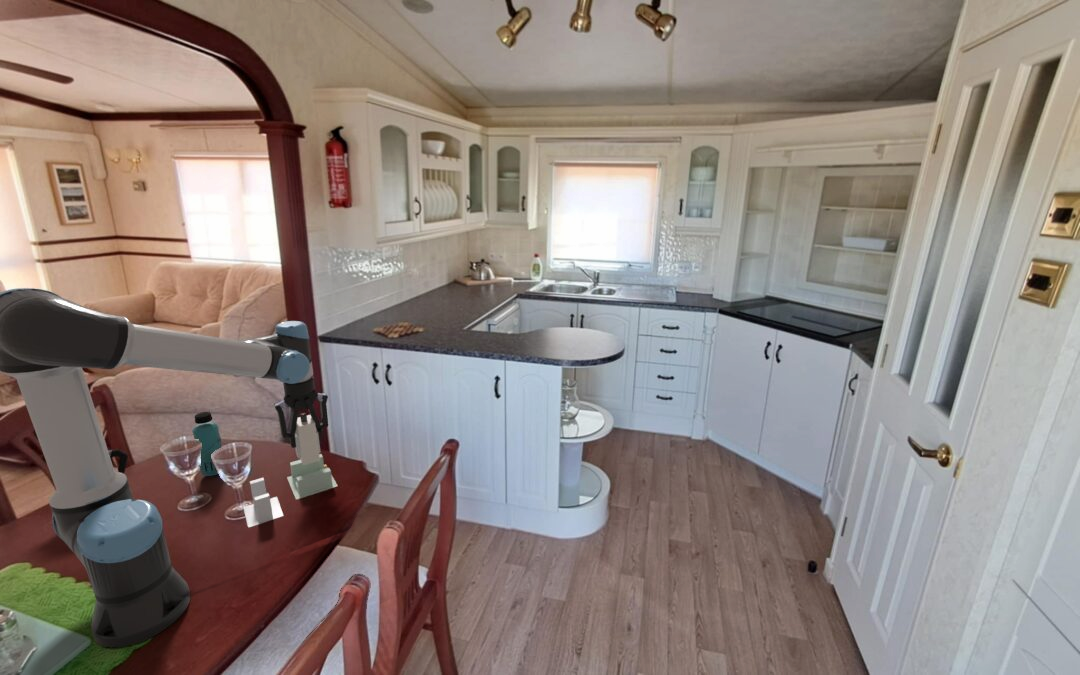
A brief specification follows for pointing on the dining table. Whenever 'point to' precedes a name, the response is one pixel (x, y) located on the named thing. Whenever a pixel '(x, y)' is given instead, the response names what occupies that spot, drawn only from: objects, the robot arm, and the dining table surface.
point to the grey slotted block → (261, 505)
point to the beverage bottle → (207, 441)
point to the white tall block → (307, 439)
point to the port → (310, 478)
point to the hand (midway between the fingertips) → (308, 453)
